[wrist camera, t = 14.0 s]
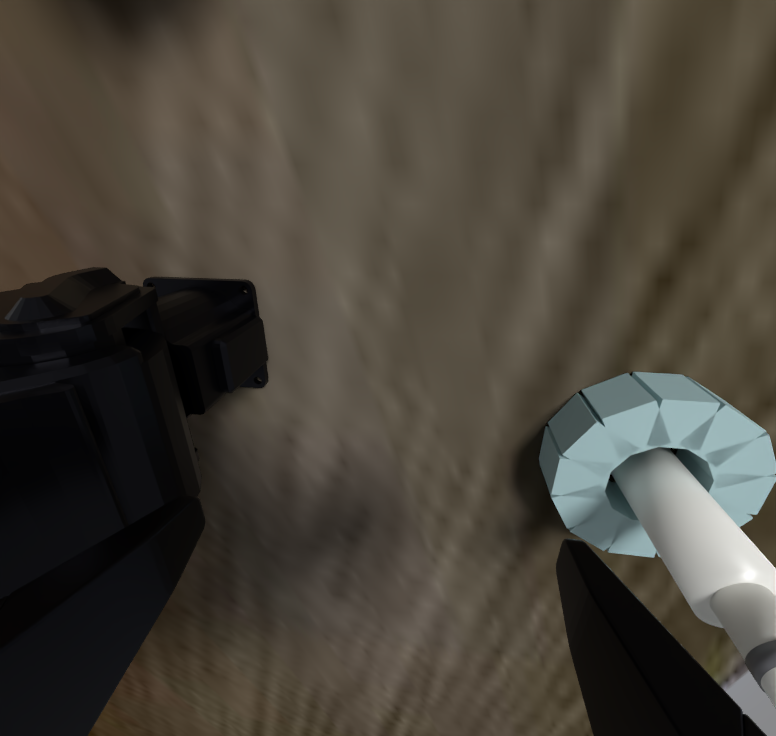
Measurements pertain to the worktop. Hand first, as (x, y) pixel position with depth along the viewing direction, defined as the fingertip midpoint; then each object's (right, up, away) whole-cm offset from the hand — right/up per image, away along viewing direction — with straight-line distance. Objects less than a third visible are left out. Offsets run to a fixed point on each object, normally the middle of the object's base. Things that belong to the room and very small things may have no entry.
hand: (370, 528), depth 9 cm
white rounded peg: (+15, -1, +13) cm, 19 cm away
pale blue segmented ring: (+15, -1, +13) cm, 19 cm away
